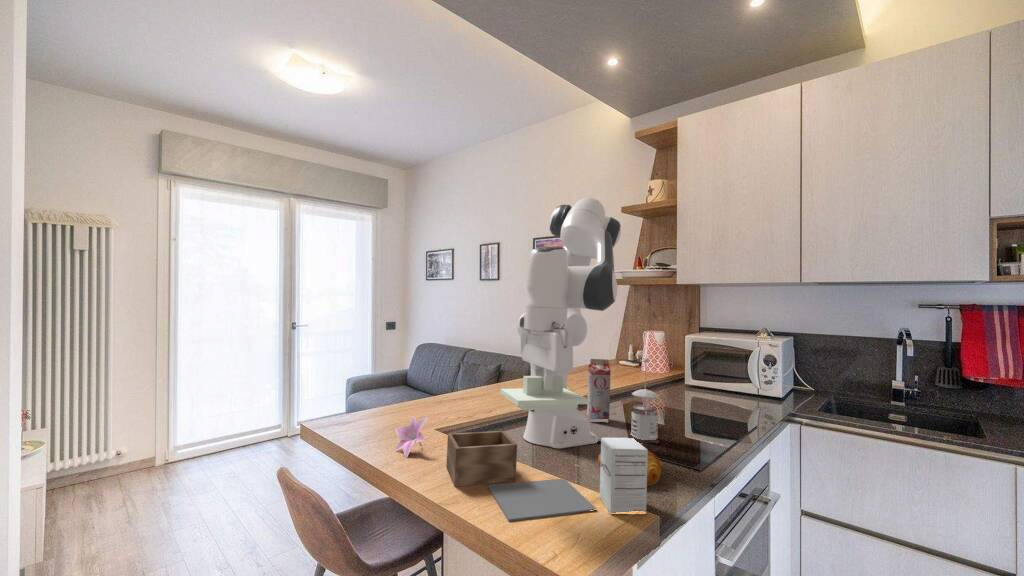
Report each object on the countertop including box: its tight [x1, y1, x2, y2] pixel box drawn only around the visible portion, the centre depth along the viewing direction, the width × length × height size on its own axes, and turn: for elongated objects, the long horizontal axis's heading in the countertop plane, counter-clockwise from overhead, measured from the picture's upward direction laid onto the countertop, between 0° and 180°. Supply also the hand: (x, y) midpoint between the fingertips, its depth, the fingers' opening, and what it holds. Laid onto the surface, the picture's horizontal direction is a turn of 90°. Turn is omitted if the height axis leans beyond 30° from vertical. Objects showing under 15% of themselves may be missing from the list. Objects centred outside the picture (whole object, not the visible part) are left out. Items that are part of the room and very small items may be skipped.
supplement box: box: [599, 437, 649, 513], centre depth 84 cm, size 7×7×13 cm
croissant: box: [597, 450, 663, 487], centre depth 101 cm, size 14×16×8 cm
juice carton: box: [586, 358, 611, 420], centre depth 151 cm, size 7×7×22 cm
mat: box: [487, 477, 598, 522], centre depth 86 cm, size 18×15×1 cm
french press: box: [630, 358, 660, 440], centre depth 131 cm, size 10×12×25 cm
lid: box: [499, 375, 589, 411], centre depth 87 cm, size 15×12×6 cm
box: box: [445, 430, 518, 487], centre depth 97 cm, size 14×11×8 cm
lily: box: [394, 415, 429, 458], centre depth 111 cm, size 11×11×9 cm
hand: (543, 388), depth 87 cm, fingers closed on lid, 2 cm apart
